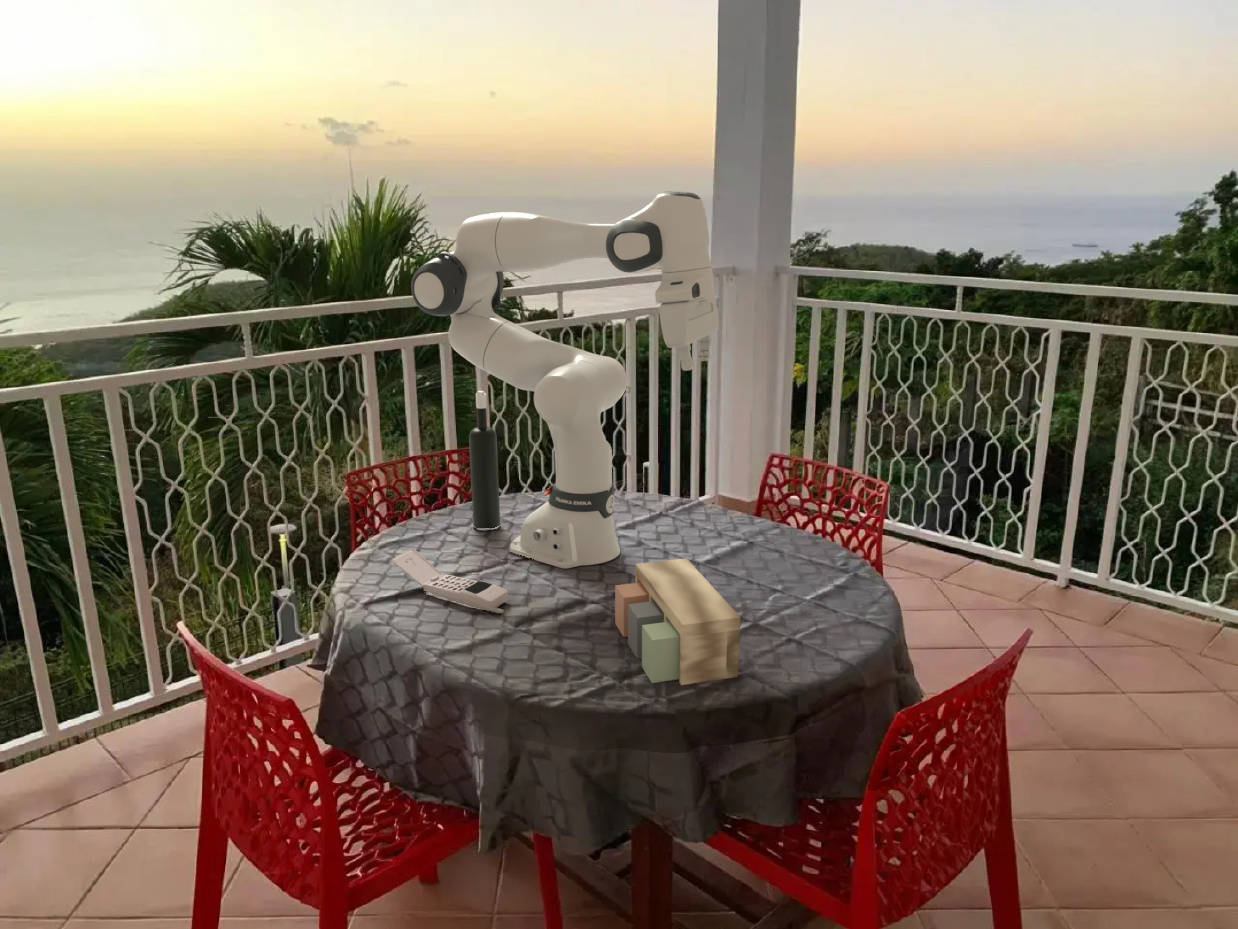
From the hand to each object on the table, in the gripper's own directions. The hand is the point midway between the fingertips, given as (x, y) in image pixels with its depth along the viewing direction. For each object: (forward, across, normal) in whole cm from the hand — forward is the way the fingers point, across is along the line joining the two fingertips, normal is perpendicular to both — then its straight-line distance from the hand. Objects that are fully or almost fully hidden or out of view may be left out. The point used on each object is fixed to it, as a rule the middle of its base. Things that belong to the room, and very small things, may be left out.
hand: (696, 365), depth 161 cm
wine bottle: (+34, -6, -54) cm, 64 cm away
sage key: (+40, +37, +4) cm, 55 cm away
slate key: (+40, +31, -1) cm, 51 cm away
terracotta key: (+39, +26, -5) cm, 47 cm away
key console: (+41, +28, +3) cm, 50 cm away
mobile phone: (+35, +26, -41) cm, 60 cm away
